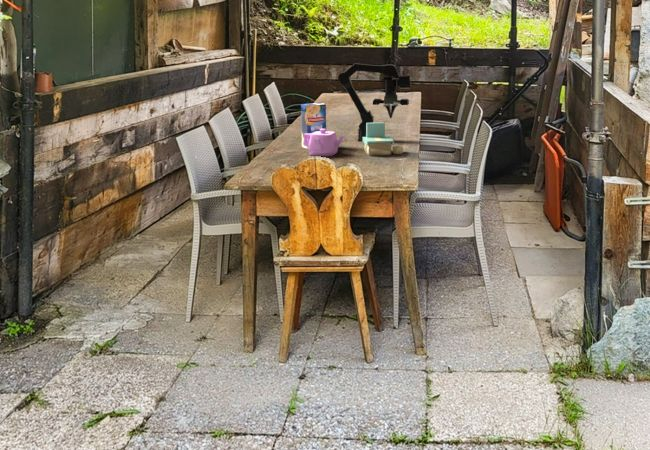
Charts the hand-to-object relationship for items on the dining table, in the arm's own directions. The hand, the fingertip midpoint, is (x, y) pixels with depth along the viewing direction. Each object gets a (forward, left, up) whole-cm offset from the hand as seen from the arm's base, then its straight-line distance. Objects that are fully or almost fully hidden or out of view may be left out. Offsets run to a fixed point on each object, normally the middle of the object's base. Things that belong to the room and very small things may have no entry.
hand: (390, 118), depth 452 cm
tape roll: (+9, -38, -12) cm, 41 cm away
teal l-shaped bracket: (0, -40, -7) cm, 41 cm away
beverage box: (-36, -26, -12) cm, 46 cm away
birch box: (0, -39, -12) cm, 41 cm away
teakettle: (-26, -46, -12) cm, 54 cm away
